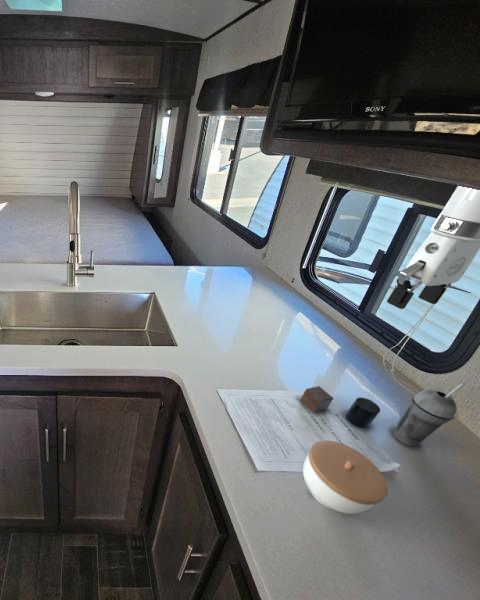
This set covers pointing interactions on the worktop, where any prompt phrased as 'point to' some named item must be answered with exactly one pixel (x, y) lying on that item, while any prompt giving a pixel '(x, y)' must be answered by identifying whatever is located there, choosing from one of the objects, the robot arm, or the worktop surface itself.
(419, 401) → the beverage cup
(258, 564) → the worktop surface
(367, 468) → the lidded bowl
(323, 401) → the walnut block
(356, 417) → the black cylinder
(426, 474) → the worktop surface
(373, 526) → the worktop surface
